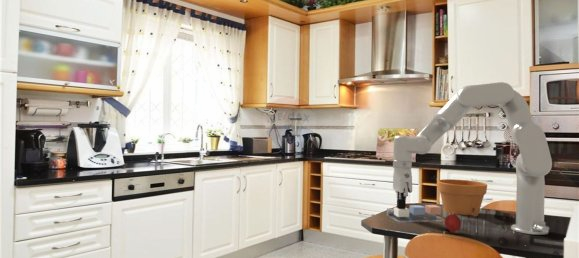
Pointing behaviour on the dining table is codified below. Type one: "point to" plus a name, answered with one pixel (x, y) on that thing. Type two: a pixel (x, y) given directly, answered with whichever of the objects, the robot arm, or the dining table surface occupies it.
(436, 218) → the clear tray
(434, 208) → the pink square block
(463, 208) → the flower pot
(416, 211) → the slate key
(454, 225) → the onion
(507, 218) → the dining table surface
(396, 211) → the ivory key
